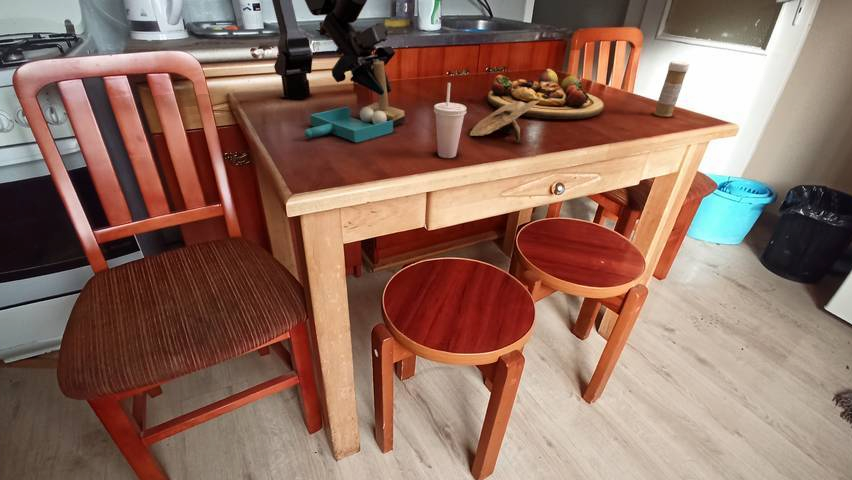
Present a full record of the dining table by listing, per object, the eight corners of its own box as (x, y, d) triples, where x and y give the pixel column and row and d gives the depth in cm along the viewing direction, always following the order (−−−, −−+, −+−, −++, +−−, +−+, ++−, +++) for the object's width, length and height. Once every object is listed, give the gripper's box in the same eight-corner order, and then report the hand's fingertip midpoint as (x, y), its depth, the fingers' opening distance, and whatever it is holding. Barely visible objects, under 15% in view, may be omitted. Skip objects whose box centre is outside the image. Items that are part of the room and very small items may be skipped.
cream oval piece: (377, 104, 105) (386, 111, 108) (366, 115, 107) (375, 121, 110) (383, 115, 104) (392, 121, 107) (372, 125, 105) (381, 131, 108)
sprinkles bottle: (662, 112, 125) (679, 60, 118) (675, 117, 122) (694, 63, 114) (649, 113, 124) (666, 60, 116) (662, 118, 120) (680, 64, 113)
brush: (393, 127, 107) (387, 68, 99) (365, 117, 113) (357, 61, 104) (405, 121, 110) (400, 63, 101) (377, 112, 115) (370, 56, 106)
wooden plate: (473, 112, 120) (476, 79, 116) (501, 88, 145) (504, 60, 140) (598, 128, 111) (607, 93, 106) (604, 100, 135) (612, 70, 131)
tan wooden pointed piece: (463, 157, 110) (453, 126, 107) (510, 135, 113) (501, 105, 111) (504, 154, 93) (493, 117, 91) (557, 128, 97) (548, 93, 95)
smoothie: (429, 149, 95) (433, 79, 87) (459, 149, 96) (465, 79, 88) (433, 160, 90) (437, 86, 82) (464, 160, 90) (471, 87, 82)
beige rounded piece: (364, 101, 108) (373, 107, 111) (354, 112, 109) (363, 117, 112) (370, 111, 106) (379, 117, 109) (360, 122, 108) (369, 127, 111)
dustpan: (349, 117, 113) (348, 106, 111) (393, 132, 104) (393, 120, 103) (285, 132, 102) (283, 120, 100) (328, 150, 93) (327, 137, 91)
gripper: (337, 13, 92) (383, 76, 94) (387, 7, 105) (427, 63, 107) (312, 52, 100) (355, 110, 102) (362, 41, 113) (399, 93, 115)
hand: (386, 92), depth 106 cm, fingers closed on brush, 2 cm apart
